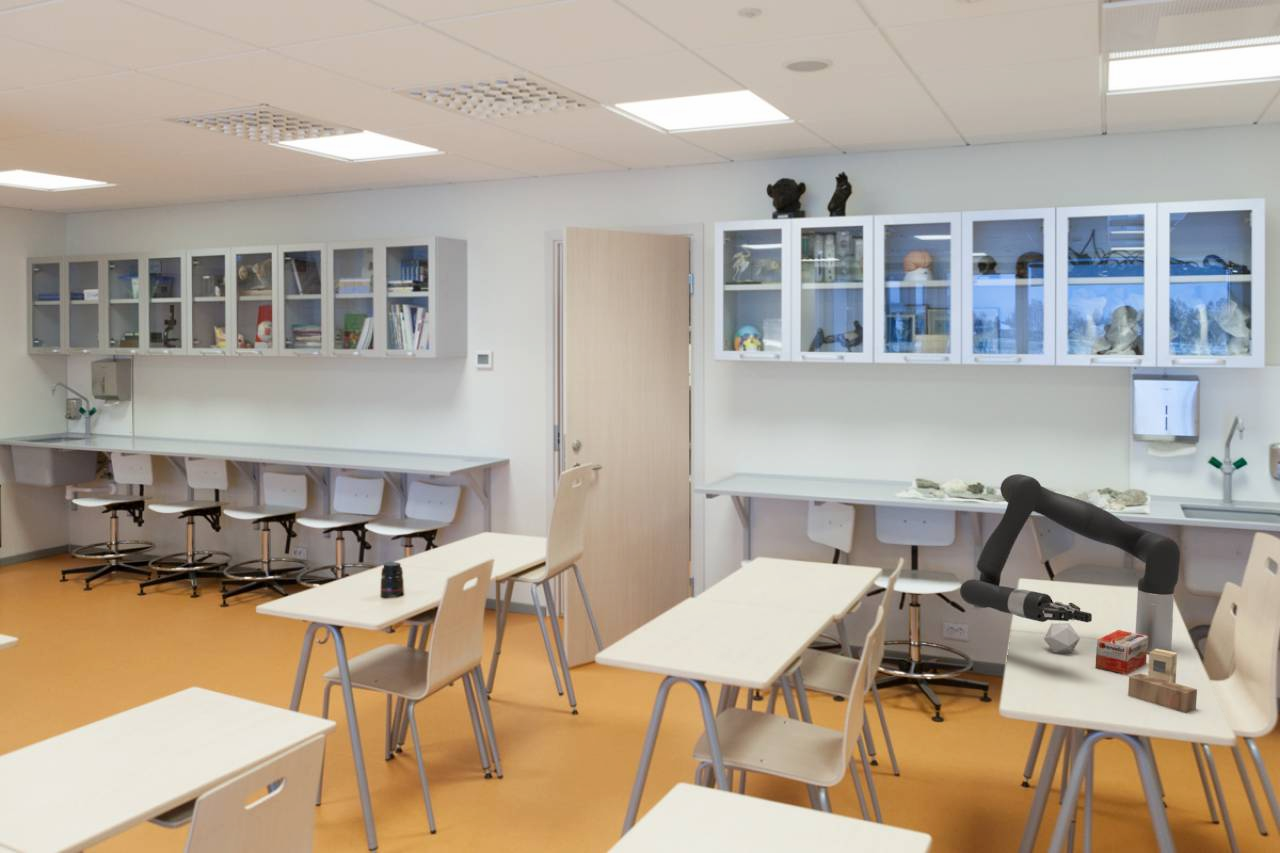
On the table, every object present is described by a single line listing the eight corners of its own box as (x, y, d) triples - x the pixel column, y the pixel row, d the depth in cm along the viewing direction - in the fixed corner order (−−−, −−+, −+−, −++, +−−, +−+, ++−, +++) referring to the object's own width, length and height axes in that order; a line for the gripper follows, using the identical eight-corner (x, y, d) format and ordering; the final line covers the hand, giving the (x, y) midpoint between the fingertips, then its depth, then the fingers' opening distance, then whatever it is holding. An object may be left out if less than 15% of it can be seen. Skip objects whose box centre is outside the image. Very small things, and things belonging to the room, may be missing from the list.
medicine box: (1126, 676, 269) (1127, 646, 268) (1094, 668, 275) (1096, 639, 274) (1147, 664, 279) (1149, 635, 279) (1116, 657, 285) (1118, 629, 285)
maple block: (1154, 682, 263) (1156, 648, 262) (1175, 687, 260) (1177, 652, 259) (1147, 687, 259) (1149, 652, 259) (1168, 692, 256) (1170, 657, 255)
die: (1074, 660, 284) (1089, 630, 286) (1046, 643, 285) (1061, 613, 287) (1062, 662, 291) (1076, 633, 294) (1035, 645, 293) (1049, 616, 295)
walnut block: (1140, 673, 255) (1197, 689, 244) (1139, 692, 256) (1195, 709, 244) (1128, 676, 253) (1185, 693, 241) (1127, 696, 253) (1184, 713, 241)
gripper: (1015, 595, 273) (1076, 607, 259) (1044, 587, 281) (1104, 599, 267) (1015, 622, 274) (1075, 637, 260) (1043, 614, 281) (1104, 628, 267)
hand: (1090, 618), depth 263 cm, fingers closed
